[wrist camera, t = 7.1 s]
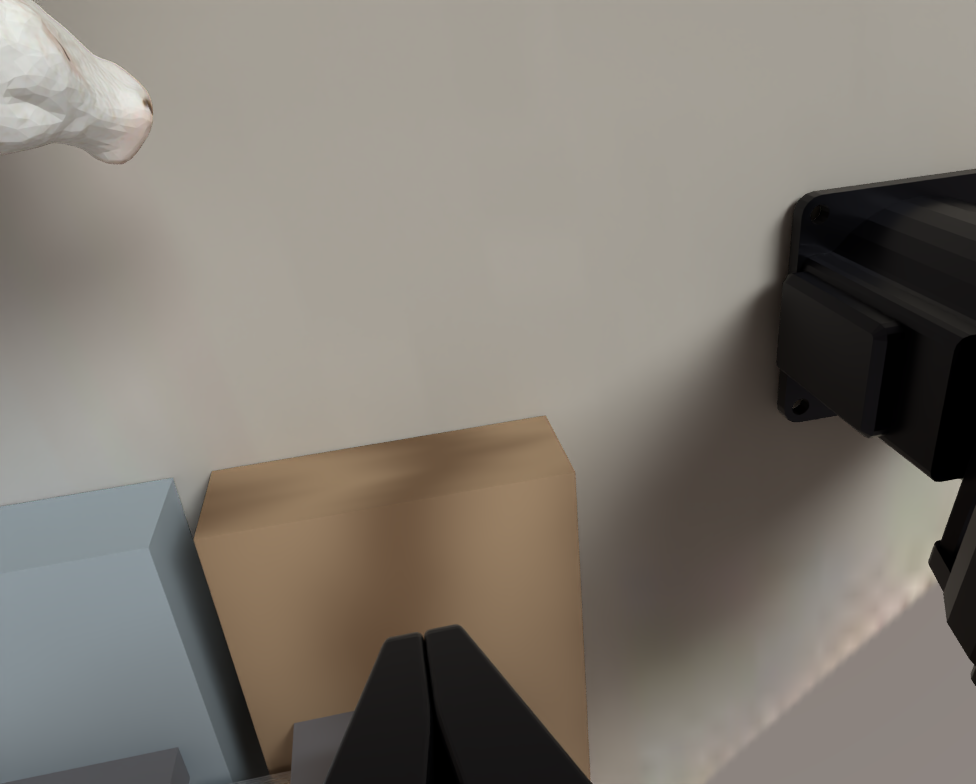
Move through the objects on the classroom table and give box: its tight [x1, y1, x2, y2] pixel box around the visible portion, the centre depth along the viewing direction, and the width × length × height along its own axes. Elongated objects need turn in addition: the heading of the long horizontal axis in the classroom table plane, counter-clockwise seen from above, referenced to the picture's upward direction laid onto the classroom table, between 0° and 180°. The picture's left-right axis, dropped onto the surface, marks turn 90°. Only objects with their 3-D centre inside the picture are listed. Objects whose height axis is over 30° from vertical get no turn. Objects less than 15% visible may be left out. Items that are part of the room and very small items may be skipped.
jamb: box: [194, 416, 590, 784], centre depth 23 cm, size 9×18×5 cm, turn 6°
